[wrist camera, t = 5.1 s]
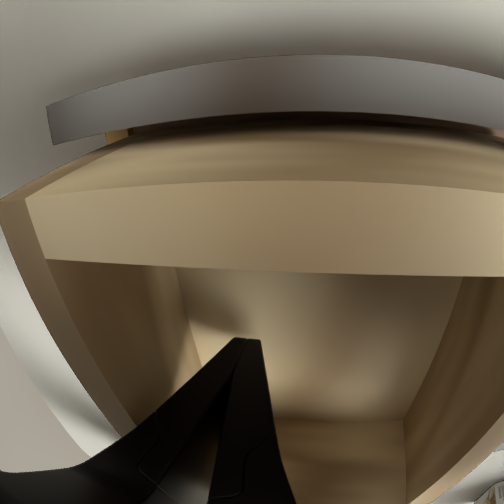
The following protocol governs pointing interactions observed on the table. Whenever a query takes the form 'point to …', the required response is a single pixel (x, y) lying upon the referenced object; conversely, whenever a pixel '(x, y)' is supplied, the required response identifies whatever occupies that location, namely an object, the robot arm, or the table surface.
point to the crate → (288, 287)
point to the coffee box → (493, 495)
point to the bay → (286, 97)
